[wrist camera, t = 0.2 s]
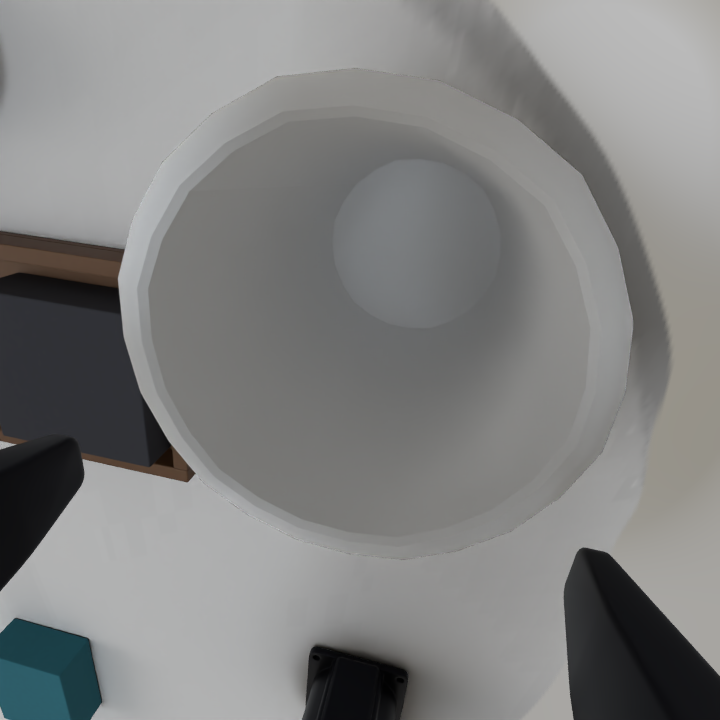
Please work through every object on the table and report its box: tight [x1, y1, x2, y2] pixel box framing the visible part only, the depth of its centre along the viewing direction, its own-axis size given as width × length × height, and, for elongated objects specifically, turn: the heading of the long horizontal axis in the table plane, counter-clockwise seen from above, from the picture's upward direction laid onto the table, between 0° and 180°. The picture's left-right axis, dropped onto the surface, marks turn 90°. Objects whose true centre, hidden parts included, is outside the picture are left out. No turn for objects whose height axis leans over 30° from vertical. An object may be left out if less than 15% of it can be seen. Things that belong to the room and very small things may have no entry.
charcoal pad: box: [0, 272, 171, 467], centre depth 25 cm, size 8×8×3 cm
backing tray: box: [0, 231, 195, 482], centre depth 26 cm, size 12×20×2 cm, turn 85°
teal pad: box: [0, 618, 102, 720], centre depth 39 cm, size 8×6×3 cm
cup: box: [118, 68, 634, 560], centre depth 15 cm, size 10×10×13 cm
